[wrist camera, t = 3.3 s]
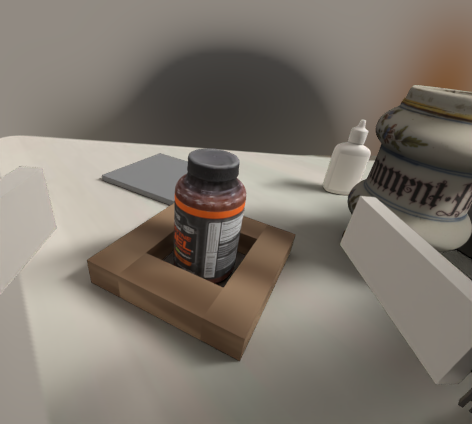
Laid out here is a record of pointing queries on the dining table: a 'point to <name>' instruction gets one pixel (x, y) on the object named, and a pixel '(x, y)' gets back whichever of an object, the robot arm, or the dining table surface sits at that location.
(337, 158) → the eye dropper bottle
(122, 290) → the pocket block
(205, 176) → the supplement bottle
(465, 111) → the apothecary jar
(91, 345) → the dining table surface
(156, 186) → the mat
